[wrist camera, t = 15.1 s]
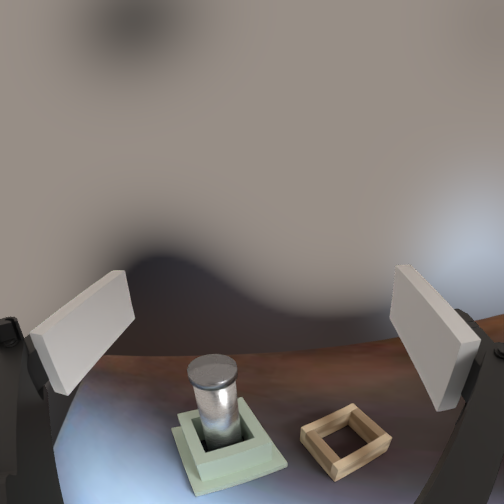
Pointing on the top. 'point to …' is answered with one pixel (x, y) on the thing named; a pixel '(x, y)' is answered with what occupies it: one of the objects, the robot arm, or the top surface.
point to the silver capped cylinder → (216, 399)
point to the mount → (334, 422)
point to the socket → (226, 453)
